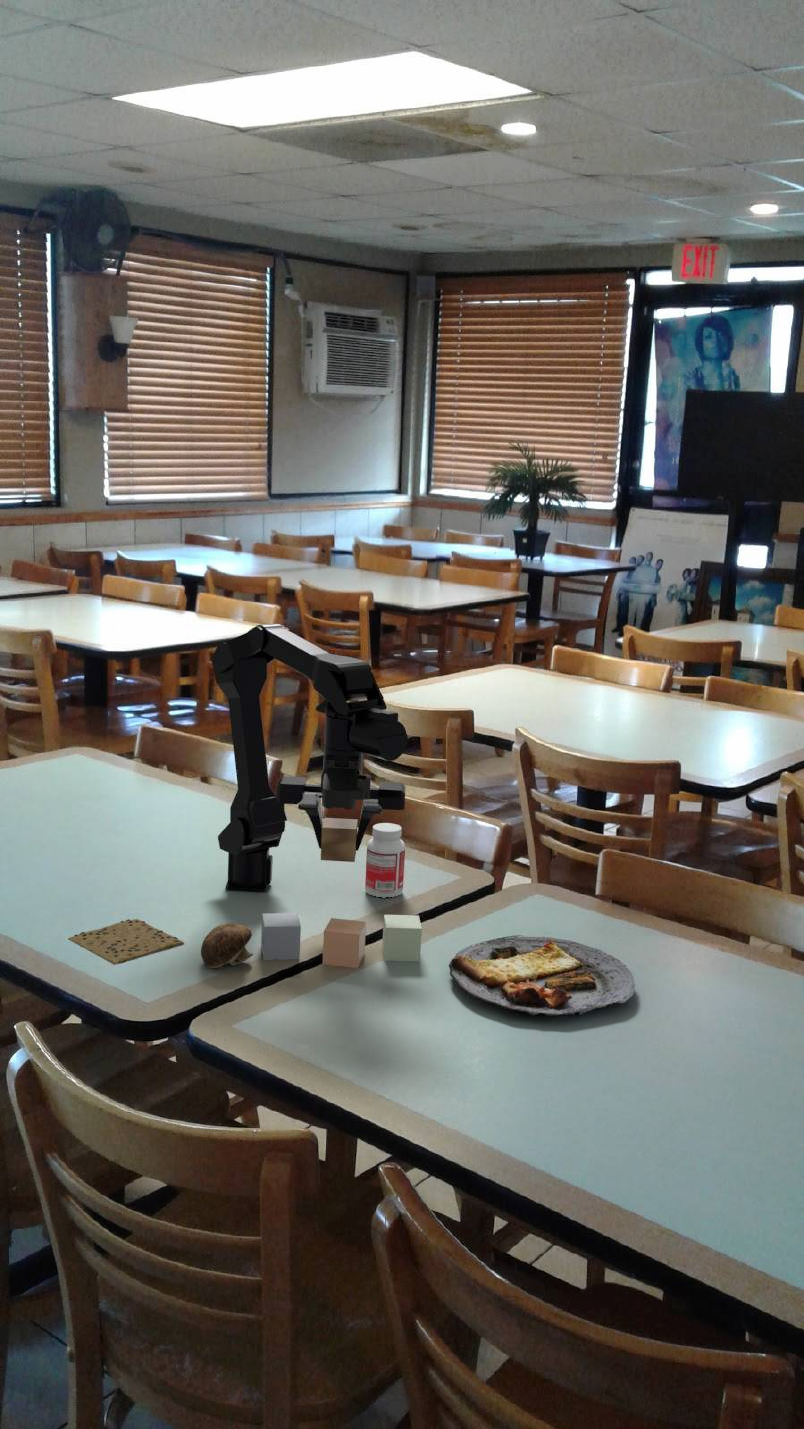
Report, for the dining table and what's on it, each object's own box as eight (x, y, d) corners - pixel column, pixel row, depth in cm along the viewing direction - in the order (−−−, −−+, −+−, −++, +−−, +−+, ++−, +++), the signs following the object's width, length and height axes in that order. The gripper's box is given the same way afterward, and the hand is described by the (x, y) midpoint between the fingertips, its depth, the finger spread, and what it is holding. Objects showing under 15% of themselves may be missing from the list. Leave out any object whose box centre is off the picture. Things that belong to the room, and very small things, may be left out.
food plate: (507, 1038, 156) (509, 1012, 155) (418, 966, 176) (419, 943, 176) (666, 1007, 168) (668, 982, 167) (565, 943, 188) (567, 921, 187)
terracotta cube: (322, 964, 175) (323, 930, 174) (329, 951, 180) (331, 917, 178) (357, 968, 174) (359, 934, 173) (364, 954, 179) (366, 921, 178)
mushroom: (275, 940, 174) (248, 906, 172) (246, 979, 168) (218, 944, 166) (238, 951, 178) (211, 918, 177) (208, 990, 173) (181, 956, 171)
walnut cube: (320, 860, 185) (322, 827, 184) (322, 849, 190) (324, 817, 189) (354, 862, 185) (356, 829, 184) (356, 851, 190) (357, 819, 189)
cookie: (64, 941, 178) (64, 935, 178) (136, 921, 187) (136, 915, 187) (113, 968, 170) (113, 961, 170) (186, 946, 179) (186, 939, 179)
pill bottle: (386, 883, 208) (390, 819, 206) (410, 894, 204) (414, 829, 202) (356, 890, 204) (360, 824, 202) (380, 901, 200) (384, 834, 198)
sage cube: (384, 961, 177) (386, 927, 176) (382, 947, 182) (384, 914, 181) (419, 961, 178) (421, 928, 176) (416, 948, 182) (418, 915, 181)
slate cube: (263, 960, 175) (264, 926, 174) (261, 946, 180) (262, 913, 179) (299, 960, 176) (300, 926, 175) (296, 946, 181) (297, 913, 180)
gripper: (273, 756, 176) (269, 862, 179) (407, 763, 176) (401, 870, 179) (281, 738, 187) (278, 839, 190) (407, 745, 187) (401, 846, 190)
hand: (338, 848), depth 187 cm, fingers closed on walnut cube, 5 cm apart
